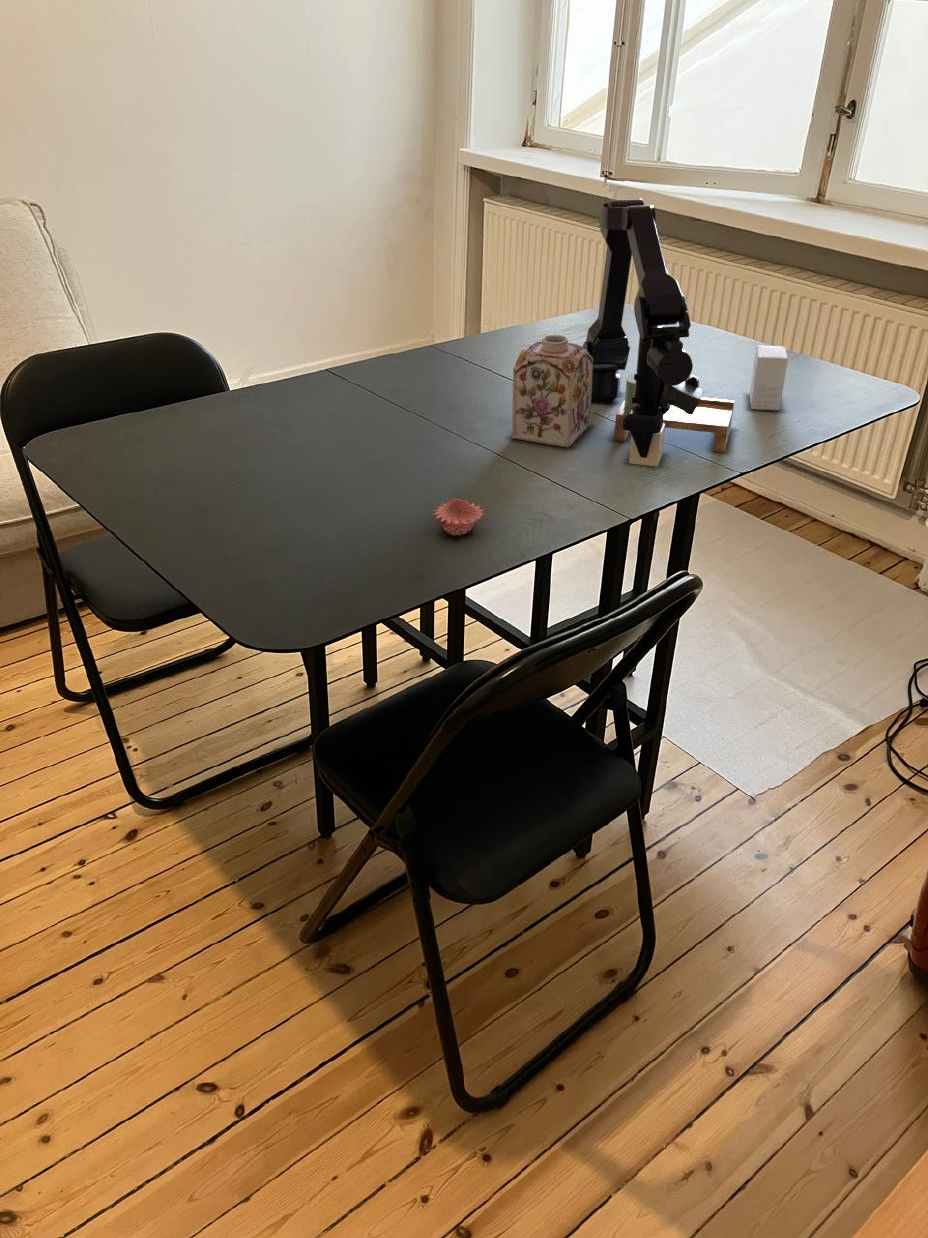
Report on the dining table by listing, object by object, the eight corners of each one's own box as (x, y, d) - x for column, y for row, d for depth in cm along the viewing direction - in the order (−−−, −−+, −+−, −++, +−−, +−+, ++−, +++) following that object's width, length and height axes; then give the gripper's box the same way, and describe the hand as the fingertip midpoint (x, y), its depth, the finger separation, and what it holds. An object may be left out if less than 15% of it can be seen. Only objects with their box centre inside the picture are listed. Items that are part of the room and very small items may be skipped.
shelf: (613, 440, 185) (616, 410, 182) (624, 418, 194) (627, 389, 191) (724, 452, 180) (728, 422, 177) (730, 430, 189) (734, 400, 185)
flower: (460, 516, 160) (460, 484, 157) (494, 533, 155) (494, 501, 152) (422, 531, 156) (421, 499, 153) (455, 550, 151) (455, 517, 148)
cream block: (629, 463, 177) (631, 431, 173) (634, 452, 180) (636, 420, 177) (657, 466, 175) (660, 434, 172) (661, 455, 179) (665, 423, 176)
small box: (779, 411, 196) (788, 358, 191) (750, 409, 197) (758, 357, 191) (777, 397, 203) (785, 345, 197) (748, 395, 204) (756, 344, 198)
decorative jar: (591, 426, 191) (596, 332, 181) (570, 449, 182) (575, 351, 172) (532, 417, 195) (535, 325, 185) (509, 439, 186) (510, 343, 176)
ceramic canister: (622, 408, 185) (624, 382, 182) (627, 399, 189) (629, 374, 186) (648, 411, 184) (650, 385, 181) (652, 402, 187) (655, 376, 185)
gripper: (695, 388, 159) (684, 478, 167) (709, 352, 174) (698, 436, 182) (625, 381, 162) (618, 470, 170) (645, 346, 177) (637, 430, 185)
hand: (646, 451), depth 177 cm, fingers closed on cream block, 5 cm apart
